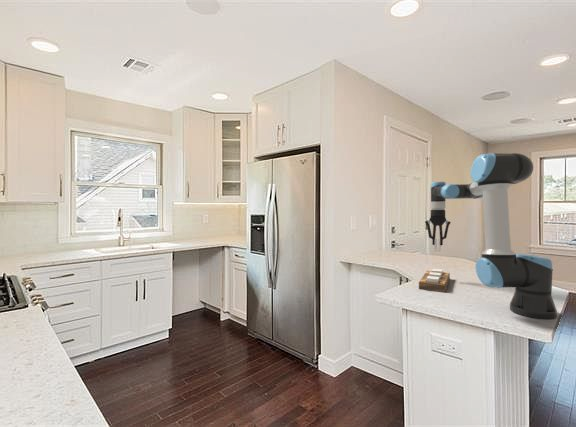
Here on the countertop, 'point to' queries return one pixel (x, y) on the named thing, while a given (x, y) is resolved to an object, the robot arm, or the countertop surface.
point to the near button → (433, 279)
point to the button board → (434, 286)
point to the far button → (437, 271)
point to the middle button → (435, 274)
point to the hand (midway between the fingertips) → (437, 250)
